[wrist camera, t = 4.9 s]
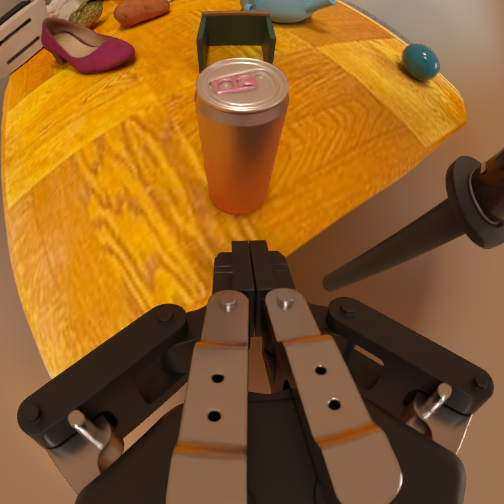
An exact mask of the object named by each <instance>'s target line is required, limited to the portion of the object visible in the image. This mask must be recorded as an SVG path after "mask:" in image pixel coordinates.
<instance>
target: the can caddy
mask: <svg viewBox="0 0 504 504" xmlns="http://www.w3.org/2000/svg"><path fill="white" fill-rule="evenodd" d="M270 16H271V13H270V12H267V11H208V12H202V18H201V22H200V27H199V31H198V35H197V39H196V40H197V51H198V62H199V72H200V73H201V72H202V71H203V70H204V69H205V67H206V60H207V52H208V46H213V45H262V50H263V56H264V61H265V62H267V63H270V64H272V63H273V57H274V50H275V44H276V36H275V33H274V29H273V25H272V21H271V17H270Z"/></svg>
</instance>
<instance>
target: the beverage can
mask: <svg viewBox="0 0 504 504" xmlns="http://www.w3.org/2000/svg"><path fill="white" fill-rule="evenodd" d="M288 90H289V84H288V80H287V78H286V76H285V75H284V74H283V73H282V72H281V71H280V70H279V69H278V68H277V67H275V66H273V65H272V64H270V63H267V62H265V61H262V60H258V59H253V58H230V59H225V60H221V61H218V62H216V63H214V64H212V65H210V66H208V67H207V68H205V69H204V70H203V71H202V72H201V74H200V75H199V77H198V79H197V82H196V92H195V106H196V113H197V120H198V126H199V133H200V140H201V146H202V152H203V159H204V165H205V171H206V177H207V183H208V189H209V194H210V198H211V200H212V202H213V203H214V205H215V206H216V207H217V208H219V209H220V210H221V211H223V212H225V213H228V214H232V215H244V214H248V213H251V212H253V211H255V210H256V209H257V208H259V207H260V206H261V205H262V203H263V202H264V200H265V198H266V194H267V190H268V186H269V182H270V178H271V174H272V170H273V165H274V161H275V157H276V153H277V149H278V145H279V141H280V137H281V132H282V128H283V124H284V120H285V116H286V112H287V108H288V103H289V94H288Z"/></svg>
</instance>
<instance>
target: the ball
mask: <svg viewBox="0 0 504 504" xmlns="http://www.w3.org/2000/svg"><path fill="white" fill-rule="evenodd" d="M402 62H403V66H404V68H405V69H406V71H407V72H408V73H409V74H410V75H411V76H413V77H414V78H416V79H419V80H431V79H433V78H434V77H435V76H436V75H437V74H438V72H439V69H440V64H439V60H438V58H437V56H436V54H435V53H434V52H433V51H432V50H431V49H430V48H429V47H427V46H425V45H422V44H411V45H409V46H407V47H406V48H405V49H404V51H403V53H402Z"/></svg>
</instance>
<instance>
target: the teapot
mask: <svg viewBox="0 0 504 504" xmlns="http://www.w3.org/2000/svg"><path fill="white" fill-rule="evenodd" d="M240 3H241V6H242V7H243V11H267V12H270V13H271V16H270V17H271V21H274V22H276V23H284V22H298V21H302V20H304V19H306V18H308V17H309V16H311V15H312V14H313V13H314V11H317V10H320V9H323V8H326V7H329V6H332V5H335V4H336V0H240Z"/></svg>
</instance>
